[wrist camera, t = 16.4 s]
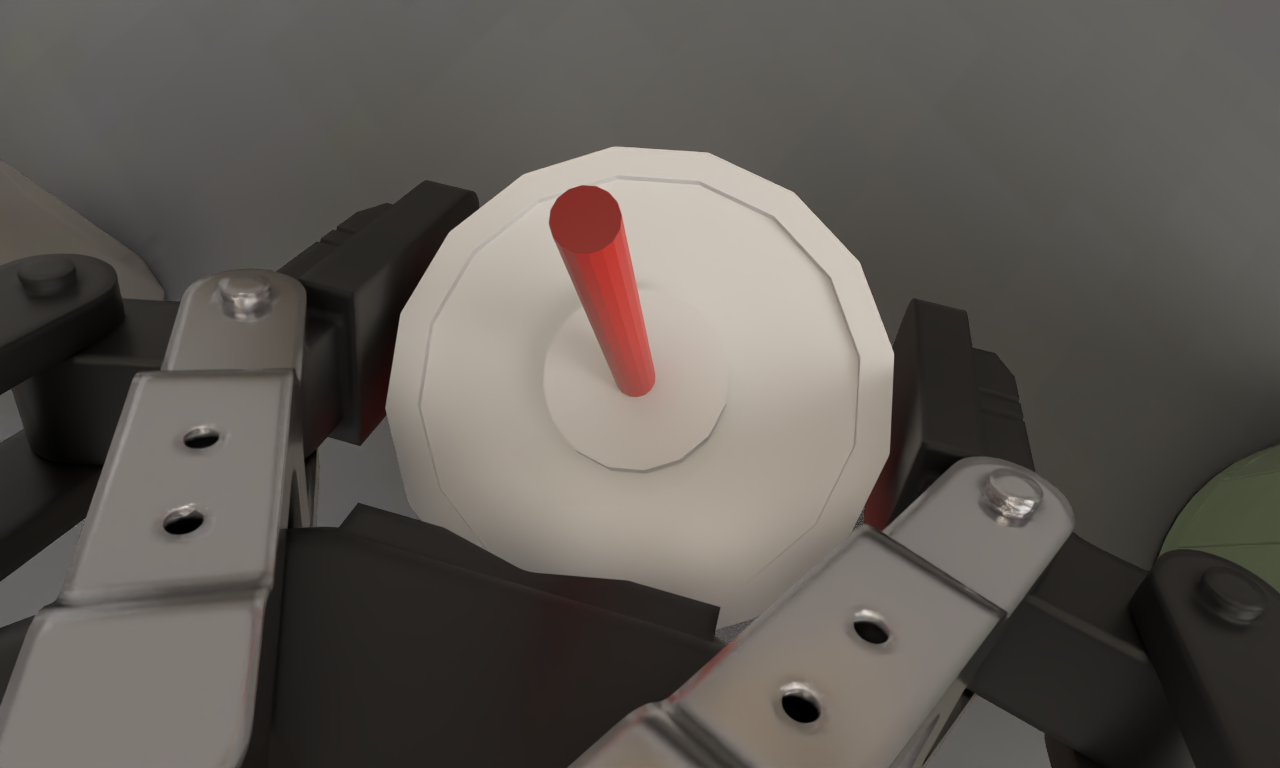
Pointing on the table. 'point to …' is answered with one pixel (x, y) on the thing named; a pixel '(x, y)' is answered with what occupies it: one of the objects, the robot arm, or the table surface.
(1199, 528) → the pen pot
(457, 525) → the beverage cup
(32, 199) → the milkshake
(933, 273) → the table surface
